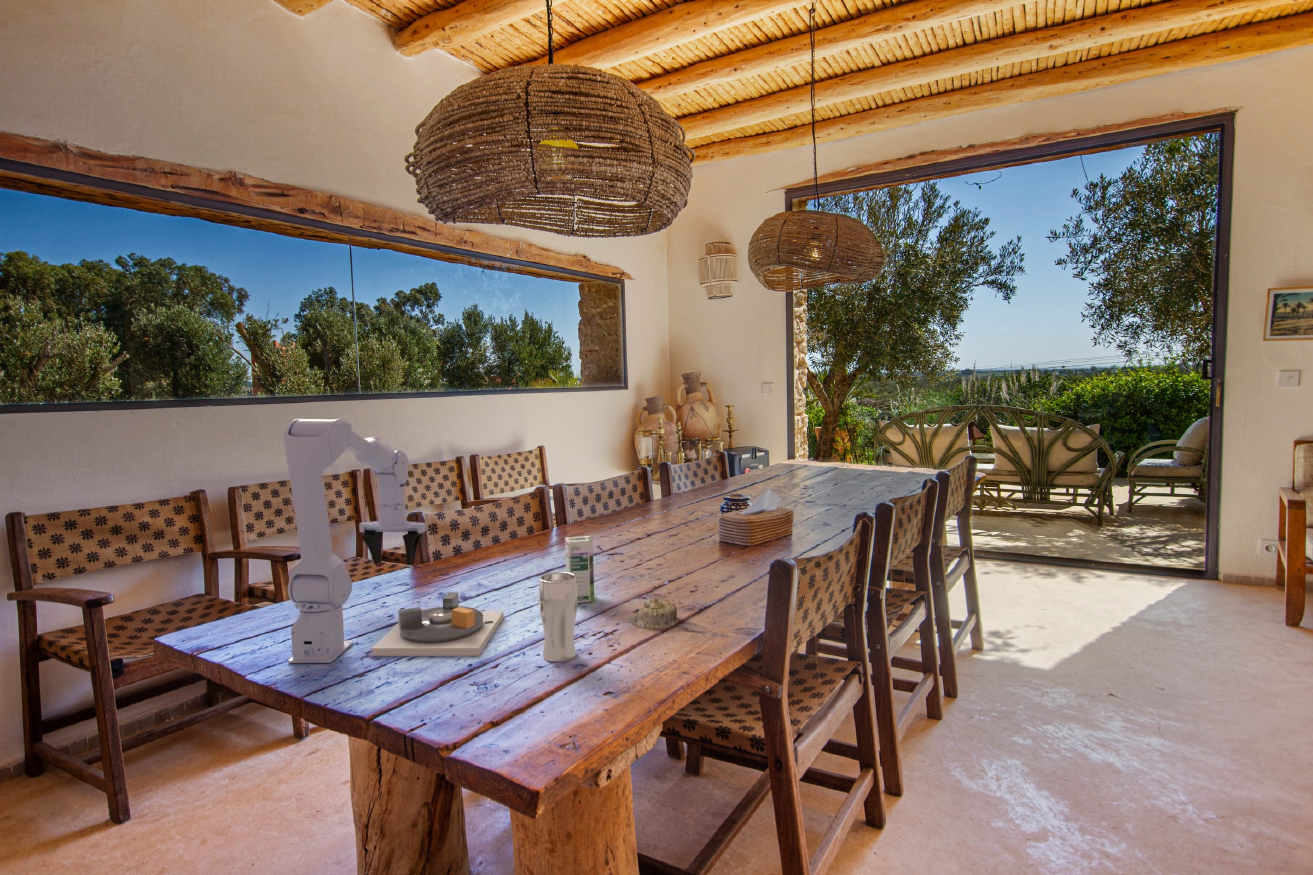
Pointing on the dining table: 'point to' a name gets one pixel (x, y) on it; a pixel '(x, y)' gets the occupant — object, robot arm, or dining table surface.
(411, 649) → the plate
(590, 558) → the syrup box
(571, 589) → the beer glass
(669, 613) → the cake
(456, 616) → the rotary indexing table
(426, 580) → the dining table surface
